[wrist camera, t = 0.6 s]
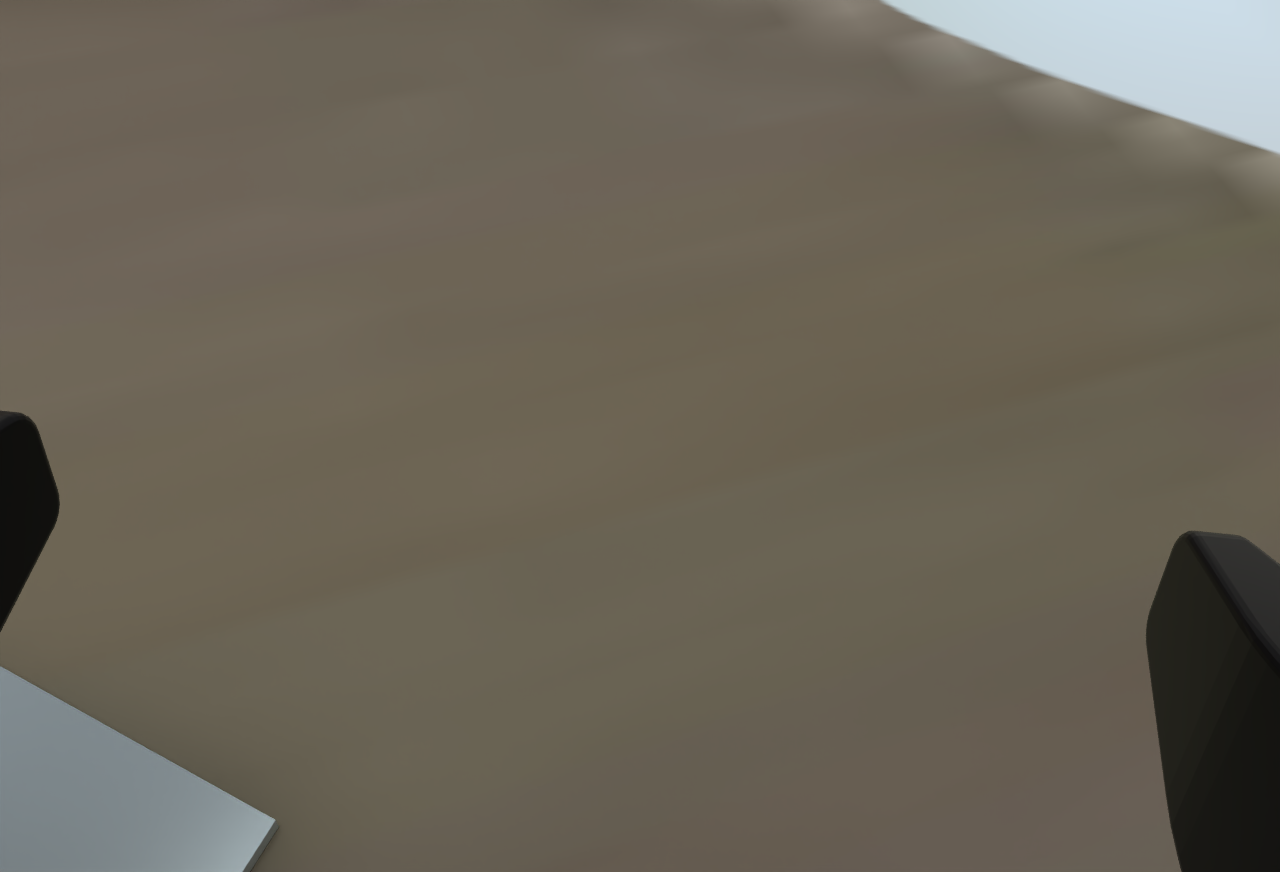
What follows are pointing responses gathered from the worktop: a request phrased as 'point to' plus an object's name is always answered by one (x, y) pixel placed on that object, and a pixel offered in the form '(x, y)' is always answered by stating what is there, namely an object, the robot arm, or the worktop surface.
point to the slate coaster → (108, 799)
